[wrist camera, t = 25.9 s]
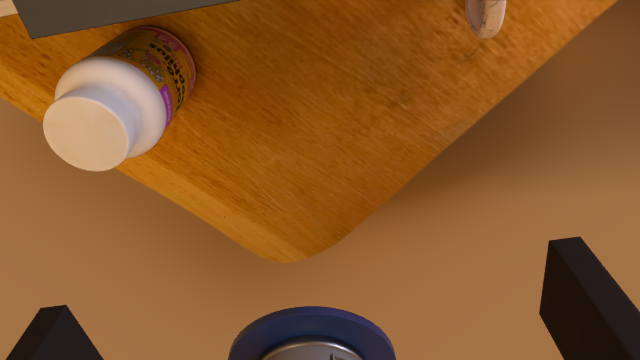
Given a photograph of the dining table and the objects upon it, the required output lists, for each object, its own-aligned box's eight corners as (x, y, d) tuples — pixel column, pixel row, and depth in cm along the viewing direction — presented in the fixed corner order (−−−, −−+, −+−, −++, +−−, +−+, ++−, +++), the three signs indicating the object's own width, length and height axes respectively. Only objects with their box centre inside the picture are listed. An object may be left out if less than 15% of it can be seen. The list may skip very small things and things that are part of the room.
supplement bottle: (210, 93, 37) (166, 173, 26) (138, 113, 38) (66, 198, 27) (175, 12, 34) (109, 65, 23) (97, 36, 34) (-4, 98, 24)
